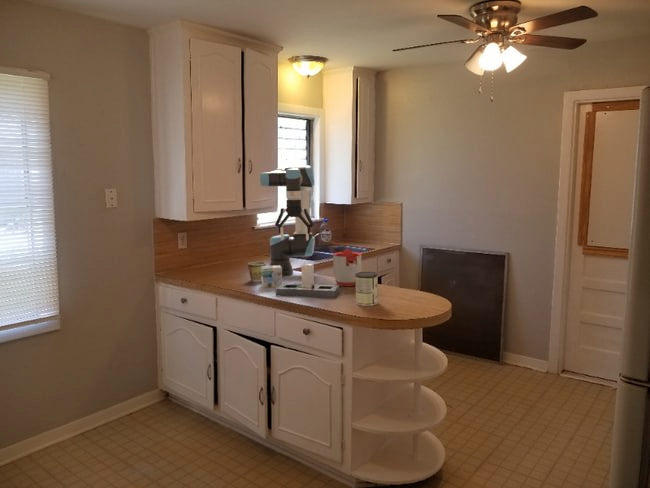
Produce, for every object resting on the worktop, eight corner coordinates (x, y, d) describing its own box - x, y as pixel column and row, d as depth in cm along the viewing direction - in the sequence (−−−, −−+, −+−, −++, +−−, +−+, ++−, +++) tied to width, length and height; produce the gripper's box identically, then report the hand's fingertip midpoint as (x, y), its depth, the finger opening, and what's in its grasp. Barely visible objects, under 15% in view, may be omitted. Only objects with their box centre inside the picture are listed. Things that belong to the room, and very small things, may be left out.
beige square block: (304, 292, 281) (304, 263, 279) (314, 292, 280) (313, 263, 278) (302, 294, 276) (301, 265, 274) (311, 295, 275) (311, 265, 273)
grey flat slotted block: (283, 289, 288) (283, 283, 287) (339, 291, 281) (339, 285, 280) (275, 295, 275) (275, 288, 275) (334, 297, 268) (334, 290, 268)
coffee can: (354, 300, 262) (354, 271, 260) (376, 300, 262) (376, 271, 260) (356, 306, 252) (356, 276, 250) (378, 305, 252) (378, 275, 250)
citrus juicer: (338, 289, 287) (338, 251, 284) (329, 282, 304) (329, 246, 301) (367, 287, 291) (367, 249, 288) (356, 280, 308) (356, 245, 305)
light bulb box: (263, 288, 292) (262, 268, 291) (261, 285, 299) (260, 266, 297) (282, 286, 295) (282, 267, 294) (280, 284, 301) (279, 264, 300)
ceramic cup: (262, 282, 306) (262, 265, 305) (245, 282, 308) (245, 264, 307) (269, 278, 319) (269, 261, 317) (253, 277, 321) (252, 260, 319)
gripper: (268, 199, 281) (269, 240, 285) (315, 199, 276) (316, 241, 280) (272, 198, 289) (273, 238, 292) (318, 198, 284) (319, 238, 287)
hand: (294, 239), depth 286 cm, fingers open, 13 cm apart
